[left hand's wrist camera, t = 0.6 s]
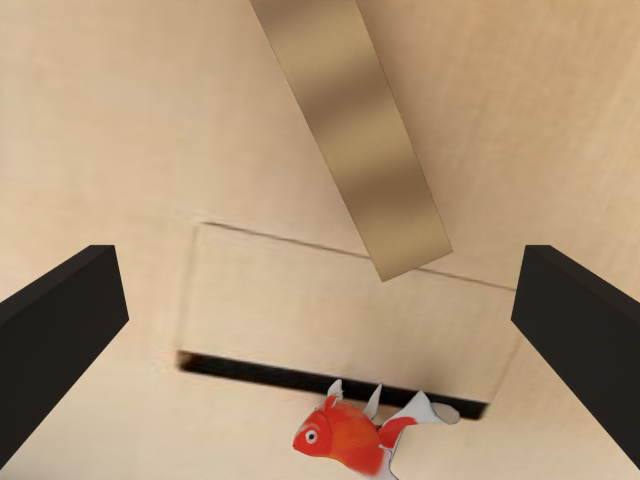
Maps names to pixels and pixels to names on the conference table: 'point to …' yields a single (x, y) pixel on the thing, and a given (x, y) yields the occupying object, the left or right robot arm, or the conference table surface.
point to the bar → (357, 128)
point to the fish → (364, 431)
